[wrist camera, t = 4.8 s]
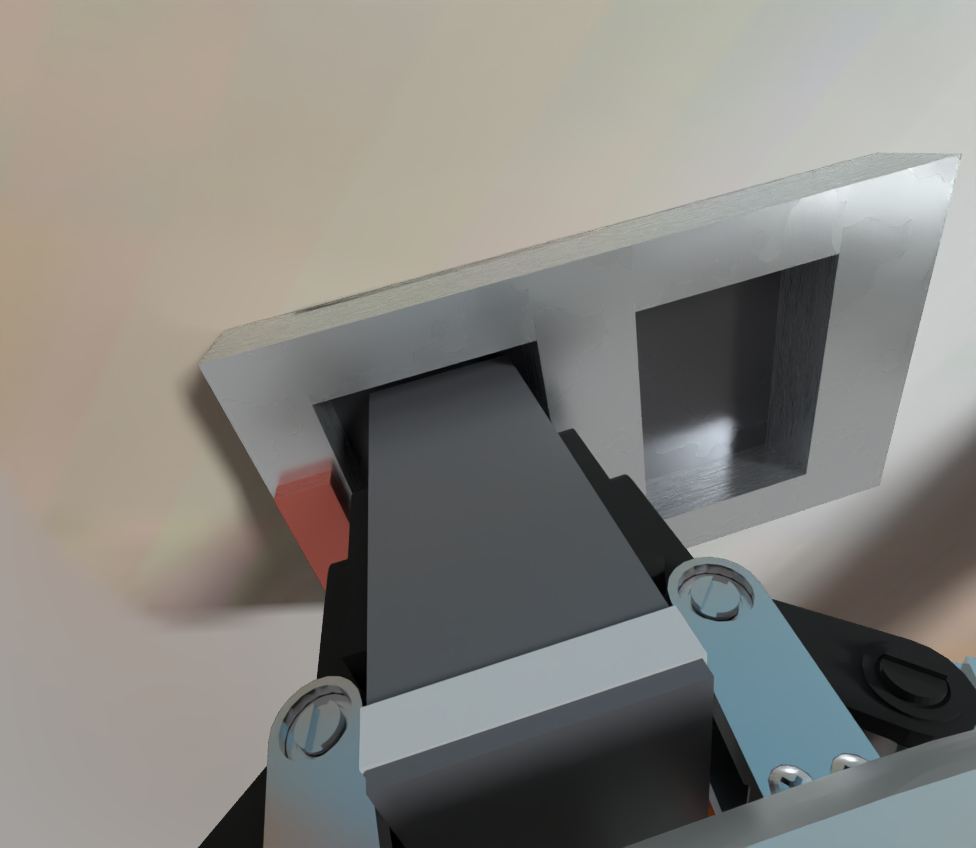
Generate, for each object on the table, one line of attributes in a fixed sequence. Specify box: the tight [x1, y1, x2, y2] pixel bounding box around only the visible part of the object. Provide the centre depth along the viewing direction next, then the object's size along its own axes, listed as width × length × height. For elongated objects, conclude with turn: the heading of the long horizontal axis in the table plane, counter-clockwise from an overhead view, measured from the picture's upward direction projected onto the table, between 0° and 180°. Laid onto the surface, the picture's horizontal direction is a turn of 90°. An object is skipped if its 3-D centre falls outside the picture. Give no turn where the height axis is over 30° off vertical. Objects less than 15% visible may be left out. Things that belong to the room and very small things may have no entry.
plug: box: [359, 355, 714, 848], centre depth 10 cm, size 4×5×8 cm
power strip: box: [198, 153, 962, 592], centre depth 13 cm, size 16×9×2 cm, turn 102°
